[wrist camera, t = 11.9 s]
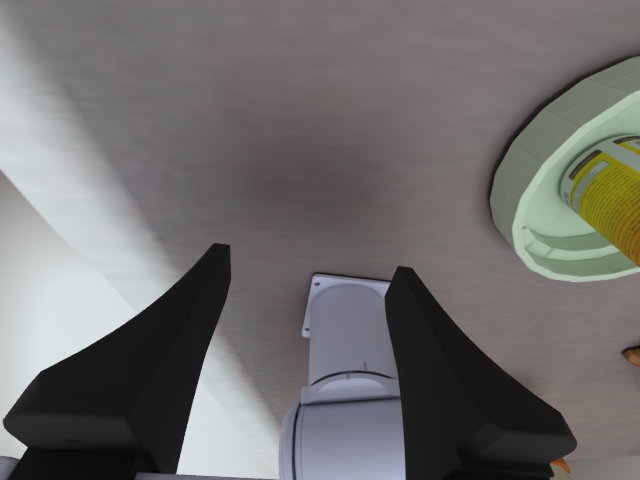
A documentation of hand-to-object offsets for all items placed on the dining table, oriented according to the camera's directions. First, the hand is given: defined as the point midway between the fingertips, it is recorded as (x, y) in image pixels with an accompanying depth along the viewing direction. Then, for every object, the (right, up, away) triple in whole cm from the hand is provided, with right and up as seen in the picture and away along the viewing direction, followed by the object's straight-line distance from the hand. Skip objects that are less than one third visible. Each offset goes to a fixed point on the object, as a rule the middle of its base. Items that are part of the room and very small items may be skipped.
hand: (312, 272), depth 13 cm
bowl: (+19, +6, +8) cm, 22 cm away
